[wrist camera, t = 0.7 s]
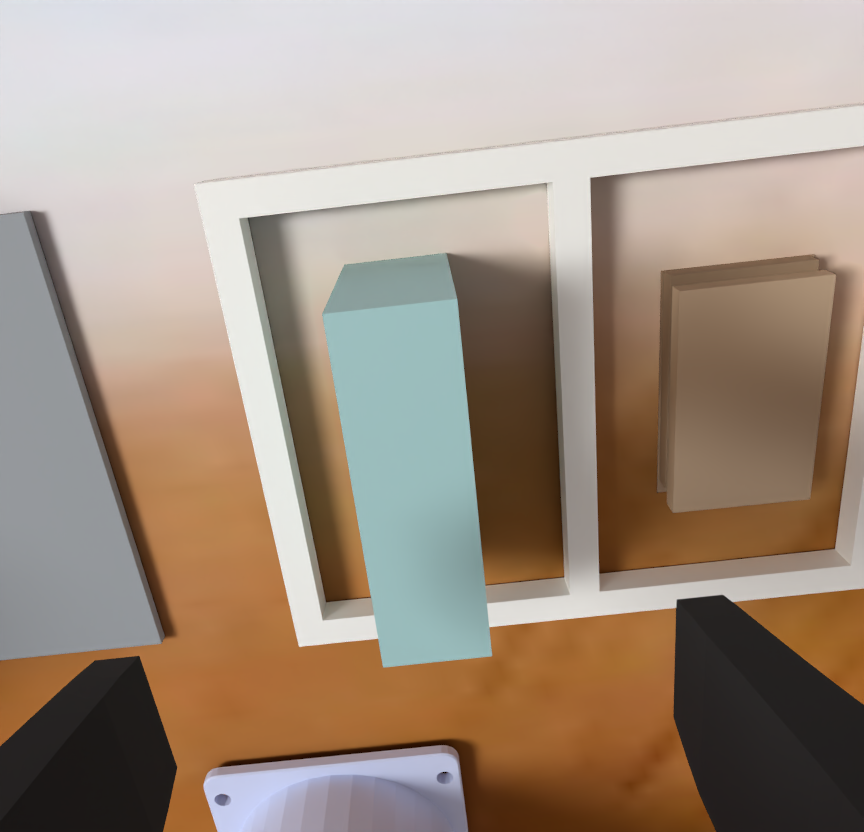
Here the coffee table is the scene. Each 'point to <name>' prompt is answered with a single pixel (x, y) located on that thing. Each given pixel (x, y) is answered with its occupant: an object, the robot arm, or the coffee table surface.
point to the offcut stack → (741, 381)
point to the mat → (57, 483)
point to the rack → (573, 348)
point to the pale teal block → (410, 455)
